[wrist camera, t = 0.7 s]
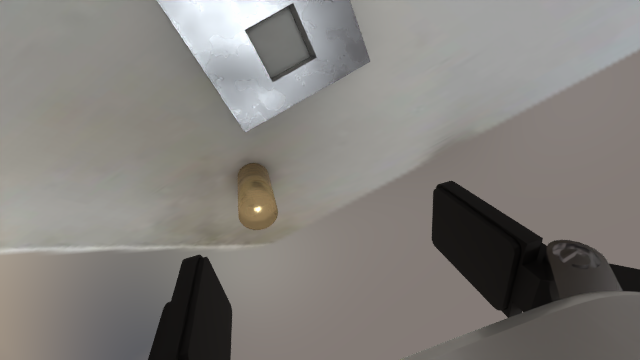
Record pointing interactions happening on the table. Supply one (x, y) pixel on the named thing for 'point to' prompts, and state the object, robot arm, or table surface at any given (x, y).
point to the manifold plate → (244, 63)
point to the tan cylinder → (255, 197)
